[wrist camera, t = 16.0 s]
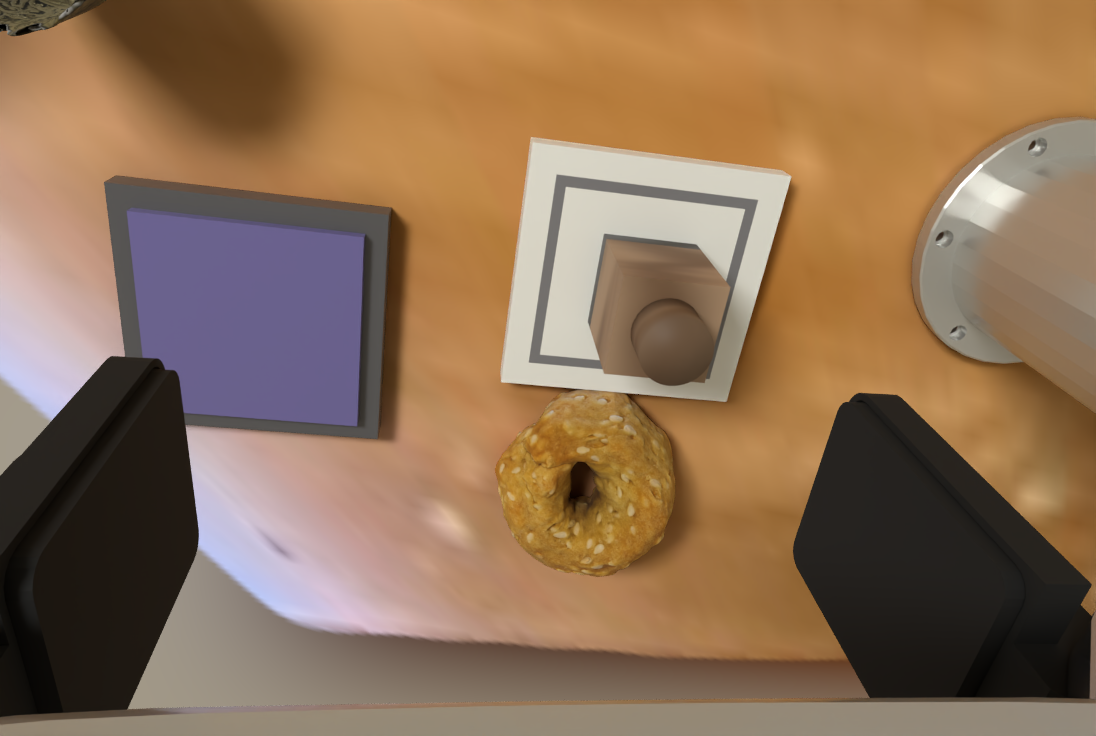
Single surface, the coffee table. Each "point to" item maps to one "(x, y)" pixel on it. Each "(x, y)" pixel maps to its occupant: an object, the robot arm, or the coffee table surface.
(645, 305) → the stamp
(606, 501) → the bagel
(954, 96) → the coffee table surface
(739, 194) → the board
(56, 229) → the coffee table surface
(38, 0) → the cup
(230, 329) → the ink pad
